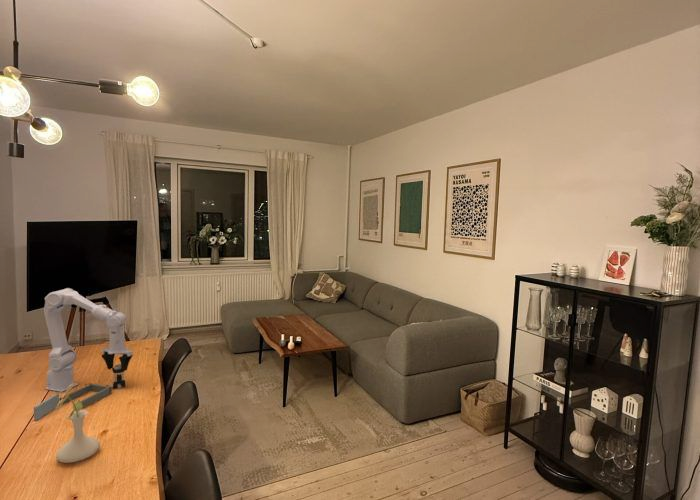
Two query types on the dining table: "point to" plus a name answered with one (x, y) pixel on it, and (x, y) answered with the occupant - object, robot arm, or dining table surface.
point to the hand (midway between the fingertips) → (117, 369)
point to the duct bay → (101, 390)
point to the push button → (118, 377)
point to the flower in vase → (76, 435)
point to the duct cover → (46, 406)
